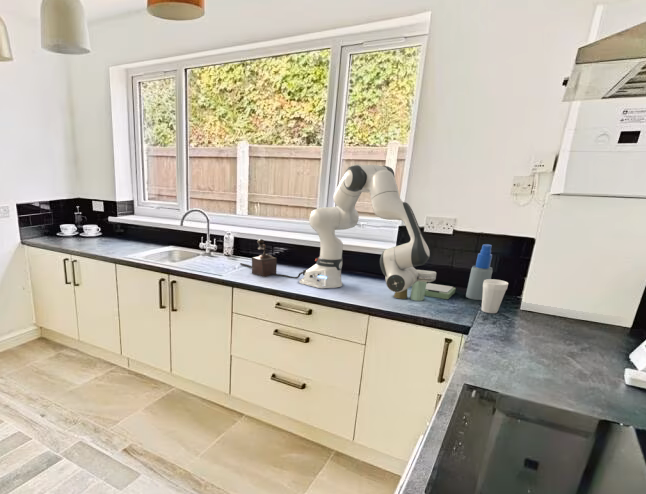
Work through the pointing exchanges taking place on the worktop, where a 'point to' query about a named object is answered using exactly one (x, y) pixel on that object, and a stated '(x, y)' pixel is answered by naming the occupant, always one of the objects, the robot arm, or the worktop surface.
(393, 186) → the robot arm
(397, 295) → the pepper shaker
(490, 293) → the foam cup
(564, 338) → the worktop surface
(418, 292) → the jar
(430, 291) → the scale
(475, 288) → the spray bottle
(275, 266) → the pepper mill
